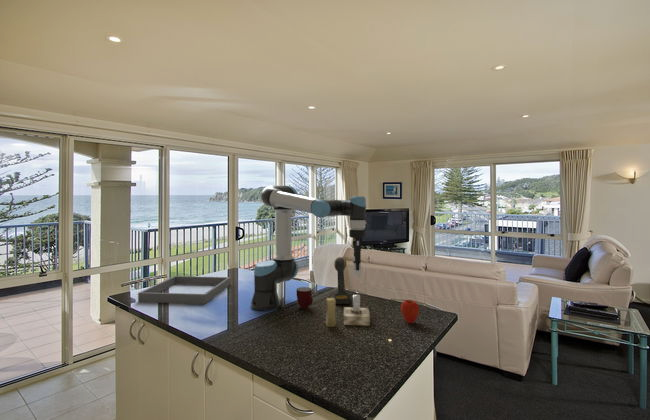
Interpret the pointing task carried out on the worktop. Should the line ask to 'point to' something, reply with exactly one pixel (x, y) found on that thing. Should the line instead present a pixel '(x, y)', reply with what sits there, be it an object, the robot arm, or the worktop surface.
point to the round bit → (356, 304)
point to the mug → (304, 297)
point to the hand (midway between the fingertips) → (356, 273)
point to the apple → (409, 310)
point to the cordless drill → (341, 282)
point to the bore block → (356, 317)
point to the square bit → (330, 312)
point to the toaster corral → (155, 296)
